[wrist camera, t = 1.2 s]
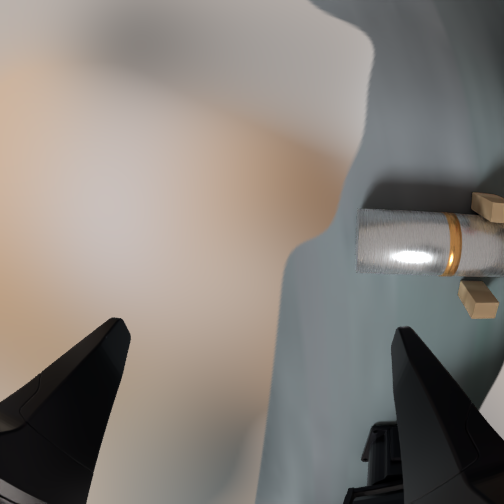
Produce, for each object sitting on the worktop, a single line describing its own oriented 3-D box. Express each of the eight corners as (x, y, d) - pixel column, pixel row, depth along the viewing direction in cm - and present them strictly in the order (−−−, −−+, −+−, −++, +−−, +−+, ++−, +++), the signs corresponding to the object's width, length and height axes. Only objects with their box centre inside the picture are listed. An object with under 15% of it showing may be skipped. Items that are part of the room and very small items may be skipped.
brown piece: (479, 295, 20) (494, 318, 17) (457, 294, 20) (471, 318, 17) (495, 194, 17) (517, 204, 14) (472, 192, 18) (492, 202, 14)
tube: (504, 220, 18) (531, 215, 14) (503, 275, 18) (529, 280, 14) (356, 211, 21) (359, 203, 17) (354, 271, 21) (357, 275, 17)
